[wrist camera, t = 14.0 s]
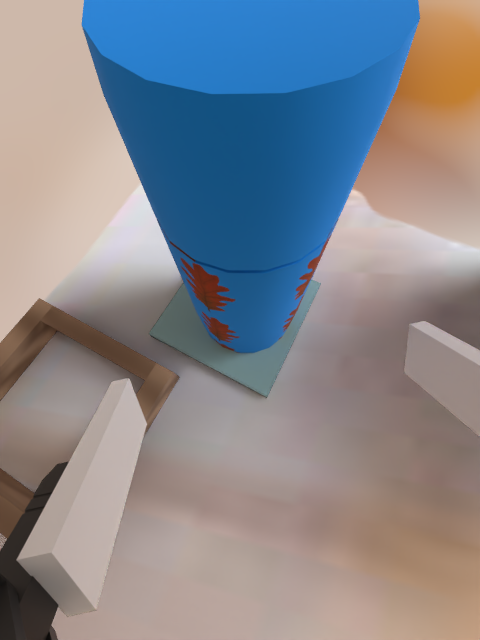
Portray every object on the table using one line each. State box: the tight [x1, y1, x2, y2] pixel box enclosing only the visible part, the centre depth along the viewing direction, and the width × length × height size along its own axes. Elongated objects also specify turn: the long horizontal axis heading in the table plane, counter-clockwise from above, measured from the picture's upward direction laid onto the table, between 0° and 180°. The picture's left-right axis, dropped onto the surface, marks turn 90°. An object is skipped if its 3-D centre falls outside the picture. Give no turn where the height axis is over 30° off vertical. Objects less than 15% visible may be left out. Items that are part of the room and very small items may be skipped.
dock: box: [0, 299, 179, 539], centre depth 27 cm, size 18×18×3 cm
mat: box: [149, 280, 321, 397], centre depth 32 cm, size 15×15×1 cm
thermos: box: [82, 0, 420, 353], centre depth 20 cm, size 11×11×25 cm
